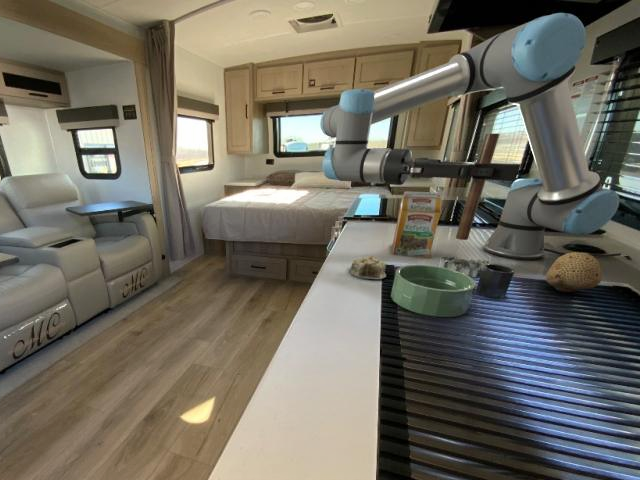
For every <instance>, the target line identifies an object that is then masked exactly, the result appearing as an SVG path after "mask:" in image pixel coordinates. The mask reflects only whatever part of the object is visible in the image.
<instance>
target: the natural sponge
mask: <svg viewBox="0 0 640 480" xmlns="http://www.w3.org/2000/svg"><path fill="white" fill-rule="evenodd" d="M577 252H578V251H572V253H570V252H566V253H567V254H565V255H560V256H559V257H558V258H556V259H555V261H554V262H553V263H552V265H551V266H550V268H549V270H548V271H547V273H546V275H545V281H546V282H547V283H548V285H550V286H551V287H553V288H555V289H556V290H557V291H559V292H563V293H572V292H576V291H582V290H583V291H584V290H590V289H593V288H596V287H597V286H598V285H599V284H600V283H601V282H602V280H603V275H602V269H601V265H600V262H599V261H598V259H597V258H595V256H591V255H590V254H587V253H588V252H584V253H577Z"/></svg>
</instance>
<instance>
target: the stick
mask: <svg viewBox="0 0 640 480" xmlns="http://www.w3.org/2000/svg"><path fill="white" fill-rule="evenodd" d="M500 134H501V133H485V134H484V137H483V141H482V144H481V148H480V151H479V154H478V158H477V159H478V162H477V161H476V162H477V164H491V163H492V160H493V157H494V154H495V151H496V147H497V145H498V141H499V137H500ZM485 184H486V179H472V178H471V182H470V187H469V189H468V194H467V196H466V201H465V204H464V207H463V211H462V214H461V218H460V220H459V225H458V228H457V232H456V235H455V239H457V240H461V241H467V240H469V237H470V233H471V230H472V226H473V224H474V219H475V217H476V214H477V210H478V207H479V204H480V201H481V196H482V195H483V191H484V187H485Z"/></svg>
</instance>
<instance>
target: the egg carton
mask: <svg viewBox="0 0 640 480" xmlns="http://www.w3.org/2000/svg"><path fill="white" fill-rule="evenodd" d="M439 258H440V259H439V263H438V267H443V268H448V269H452V270H455V271H458V272H461V273H463V274H465V275H468V276H470V277H471V278H477V277H478V275H479V276H480V275H481V272H482V269H483V266H484V265H486V264H490V261H489V260H486V259H476V260H475V259H466V258H462V257H461V258H460V257H455V256H453V255H451V254H450V255H449V254H447V255H442V256H439Z"/></svg>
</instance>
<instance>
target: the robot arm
mask: <svg viewBox="0 0 640 480" xmlns="http://www.w3.org/2000/svg"><path fill="white" fill-rule="evenodd" d="M586 39H587V35H586V28H585V26H584V24H583V22H582V21H581V20H580V19H579V18H578V16H576V15H574V14H572V13H566V12H557V13H552V14H549V15H542V16H540V17H537V18H534V19H533V20H530V21H528V22H525V23H523V24H520V25H518V26H516V27H514V28H511V29H509V30H505V31H502V32H500V33H497V34H496V35H494V36H492V37H490V38H488V39H486V40H484V41H483V42H480V43H479V44H477V45H475V46H473V47H471V48H469V49H467V50H465V51H462V52H461V53H458V54H455V55H453V56H452V57H450V59H449V61H448V62H446V63H443V64H441V65H439V66H435V67H433V68H430V69H427V70H425V71H423V72H420V73H418V74H415V75H413V76H409V77H407V78H405V79H402V80H399V81H396V82H394V83H391V84H388V85H387V86H384V87H381V88H379V89H378V88H377V89H375V90H372V89H369V88H368V89H367V88H353V89H346V90H344V91H342V93H341V94H340V99H339V102H338V104H337V105H332V106H330V107H328V108H327V109H326V110H325V111H324V112H323V113H322V115H321V118H320V123H319V124H320V125H319V126H320V129H321V132H322V133H323V134H324V135H325V136H327V137H329V138H332V139H335V143H334V147H331V148H329V149H327V150H326V151H325V153H324V158H323V159H322V167H321V168H322V173H323V175H324V176H325V178H326V179H328V180H333V181H334V180H335V181H340V182H354V183H370V185H371V186H373V187H374V186H376V184H386V185H392V186H402V185H404V184H405V183H406V182H407V179H408V178H409V177H411V179H422V178H423V179H432V178H440V179H442V178H444V179H459V180H465V183H471V181H472V179H486V180H487V181H490V180H491V181H506V182H512V184H511V185H510V189H509V190H508V192H507V197H506V199H505V203H504V205H503V208H502V212H501V215H500V218H499V222H498V225H497V227H496V228H495V229H494V230H493V232H492V233H491V235H490V236H489V237H488V239H486V240H485V242H484V246H483V250H484V251H485V252H487V253H488V254H492V255H494V256H498V257H502V258H506V259H513V260H522V261H533V260H539V259H540V260H541V259H542V257H543V256H544V253H545V252H548V253H553V254H556V255H560V256H562V255H565V254H567V253H568V252H562V251H557V250H554V249H550V248H545V230H546V228H548V229H551V230H554V231H558V232H561V233H563V234H568V235H569V234H571V235H576V236H586V235H589V234H592V233H595V232H596V231H598V230H600V229H601V228H603V227H604V226H606V224H608V222H610V220H612V217H613V216H615V214H616V212H617V211H618V209H619V205H620V196H619V194H618V193H617V192H616V191H613V190H611V189H609V188H608V189H604V188H603V186H602V181H601V177H600V175H599V174H598V173H597V172H595V171H591V170H589V167H588V162H587V157H586V154H585V150H584V145H583V140H582V137H581V132H580V129H579V124H578V120H577V116H576V111H575V107H574V103H573V99H572V95H571V89H570V86H569V81H570V79H571V78H572V76H573V75H574V74H575V72H576V64H577V63H578V61H579V60H580V58H581V57H582V55H583V52H581V51H582V50H583V49H584V48H585V46H586V42H587V41H586ZM498 89H503V90H504V94H505V97H506V100H507V102H508V104H509V105H516V106H518V109H519V112H520V115H521V118H522V123H523V125H524V128H525V132H526V135H527V138H528V142H529V146H530V149H531V152H532V155H533V159H534V163H535V166H536V167H537V168H536V169H537V173H538V175H539V178H538V177H537V178H536V177H535V178H518V179H517V177H518V174H519V171H520V168H521V165H522V164H521V163H504V162H503V163H500V162H499V163H498V162H491V164H477V162H478V158H477V159H476V161H472V162H470V161H469V162H468V161H443V160H441V159H437V158H436V159H435V158H433V159H432V158H431V159H430V158H428V157H418V158H415V159H414V160H413V154H412V153H413V152H412V150H411V149H409V148H392V149H391V148H390V147H389V148H388V147H386V148H385V147H372V148H369V147H368V146H369V145H368V144H369V138H370V133H371V132H370V131H371V127H372V125H374V124H377V123H379V122H383V121H386V120H388V119H390V118H391V119H392V118H393V117H396V116H398V115H401V114H404V113H407V112H409V111H413V110H415V109H418V108H421V107H423V106H426V105H429V104H431V103H434V102H438V101H439V100H442V99H445V98H448V97H453V98H460V97H462V96H465V95H469V94H473V93H477V92H478V93H479V92H485V91H491V90H498ZM572 252H573V251H572ZM572 252H569V253H572ZM576 252H577V253H585V252H583V251H581V252H580V251H576ZM586 253H587V254H590V255H591V256H593V257H600V258H601V257H603V258H609V257H621V256H620V255H621V253H622V252H621V253H620V252H619V253H608V254H607V253H605V254H601V253H594V252H593V253H591V252H586ZM623 257H624V258H626V259H627V260H632V257H631V256H630V255H628V256H623Z"/></svg>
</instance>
